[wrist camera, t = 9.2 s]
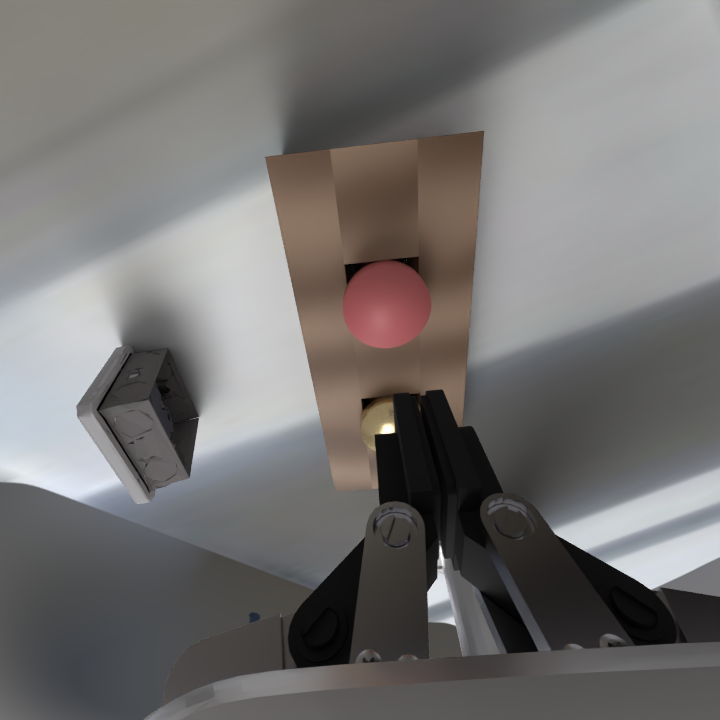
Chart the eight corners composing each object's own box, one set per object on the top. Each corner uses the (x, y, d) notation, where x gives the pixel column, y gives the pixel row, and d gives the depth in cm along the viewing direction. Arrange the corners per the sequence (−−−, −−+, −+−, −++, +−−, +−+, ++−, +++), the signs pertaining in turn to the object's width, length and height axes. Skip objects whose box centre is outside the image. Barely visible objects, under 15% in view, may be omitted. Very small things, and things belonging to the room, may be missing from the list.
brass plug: (414, 401, 31) (427, 451, 26) (361, 407, 32) (363, 457, 26) (413, 356, 29) (427, 400, 24) (355, 361, 29) (356, 407, 24)
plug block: (444, 440, 34) (458, 481, 30) (337, 450, 35) (335, 491, 30) (456, 136, 21) (484, 131, 17) (282, 157, 21) (265, 156, 17)
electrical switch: (119, 342, 28) (42, 414, 20) (183, 333, 28) (132, 401, 20) (163, 427, 33) (115, 512, 25) (217, 419, 33) (187, 501, 25)
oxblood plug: (414, 305, 26) (431, 343, 20) (348, 312, 26) (348, 352, 20) (412, 236, 23) (431, 260, 18) (340, 245, 23) (337, 270, 18)
